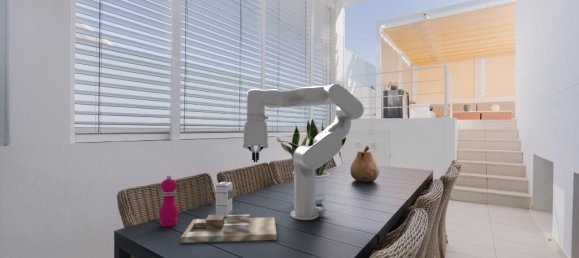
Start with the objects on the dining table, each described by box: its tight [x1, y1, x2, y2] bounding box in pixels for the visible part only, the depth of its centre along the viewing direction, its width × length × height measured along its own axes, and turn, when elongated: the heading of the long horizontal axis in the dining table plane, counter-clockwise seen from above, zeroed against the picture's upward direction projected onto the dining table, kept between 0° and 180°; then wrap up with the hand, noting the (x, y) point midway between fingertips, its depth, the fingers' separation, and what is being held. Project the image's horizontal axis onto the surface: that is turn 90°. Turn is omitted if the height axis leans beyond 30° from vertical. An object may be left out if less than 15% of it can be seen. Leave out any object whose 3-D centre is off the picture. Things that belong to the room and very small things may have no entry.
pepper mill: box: [158, 174, 179, 228], centre depth 115 cm, size 7×7×20 cm
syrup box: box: [215, 181, 234, 218], centre depth 127 cm, size 6×6×14 cm
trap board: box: [180, 214, 277, 244], centre depth 108 cm, size 33×18×4 cm, turn 96°
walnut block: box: [205, 214, 225, 229], centre depth 107 cm, size 6×6×4 cm
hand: (255, 161), depth 120 cm, fingers closed
